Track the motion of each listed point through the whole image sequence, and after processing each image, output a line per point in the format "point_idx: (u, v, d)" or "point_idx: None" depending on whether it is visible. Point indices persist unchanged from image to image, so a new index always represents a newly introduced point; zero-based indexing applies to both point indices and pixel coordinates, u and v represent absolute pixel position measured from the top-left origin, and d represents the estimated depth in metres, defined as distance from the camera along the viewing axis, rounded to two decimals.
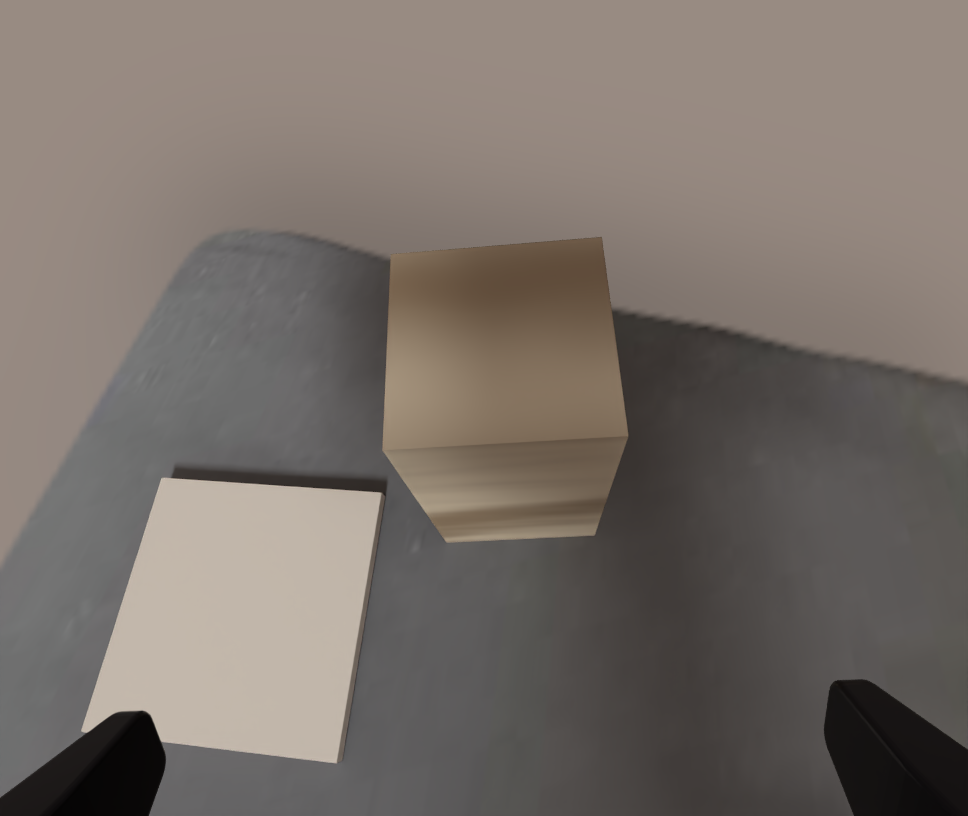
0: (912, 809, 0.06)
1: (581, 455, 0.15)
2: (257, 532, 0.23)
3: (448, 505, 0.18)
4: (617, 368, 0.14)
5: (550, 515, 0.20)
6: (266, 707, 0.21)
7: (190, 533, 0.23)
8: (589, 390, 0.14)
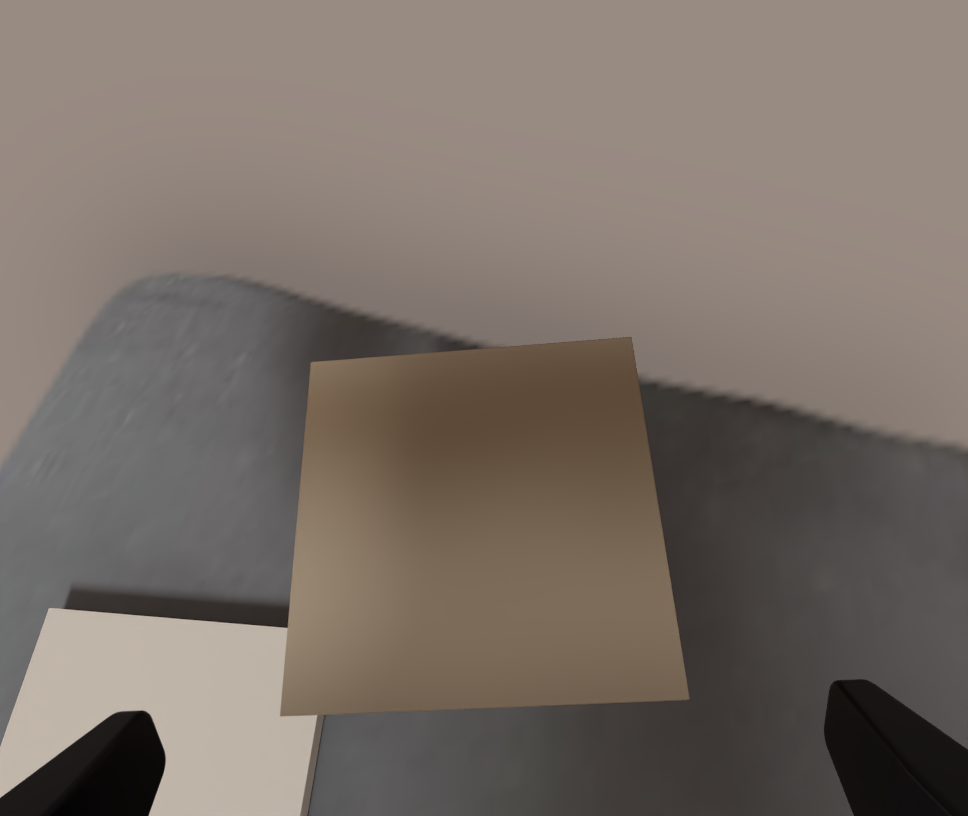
0: (912, 809, 0.06)
1: None
2: (167, 688, 0.18)
3: None
4: (665, 568, 0.09)
5: None
6: None
7: (81, 688, 0.18)
8: (621, 610, 0.09)
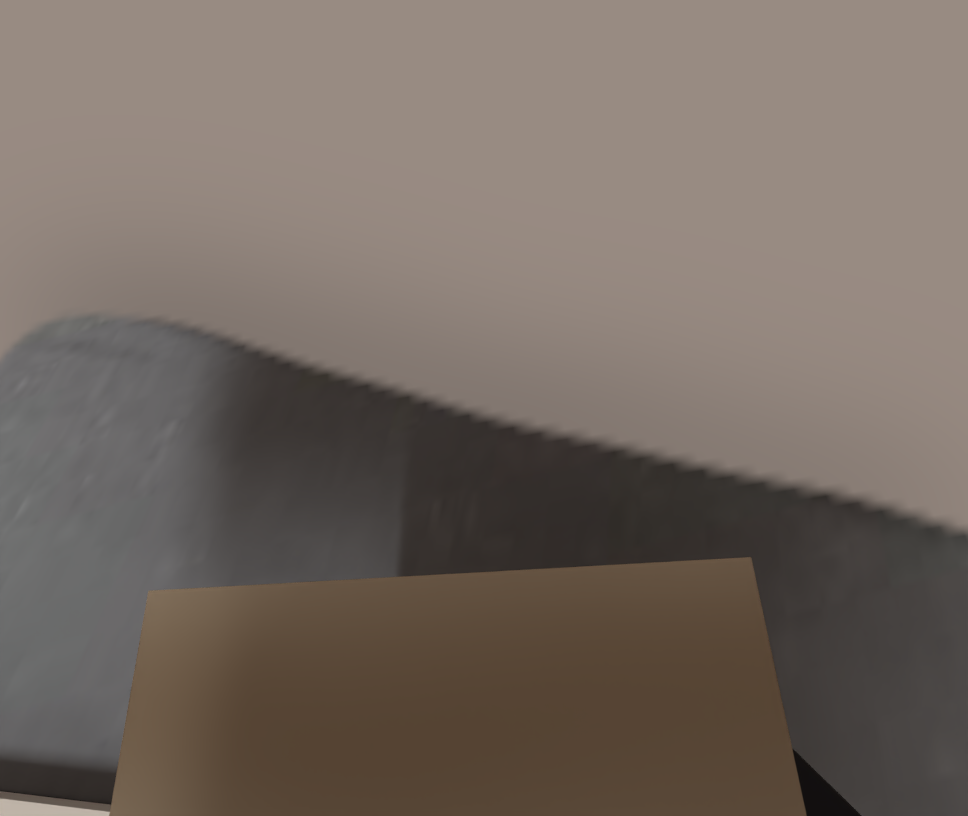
0: None
1: None
2: None
3: None
4: None
5: None
6: None
7: None
8: None
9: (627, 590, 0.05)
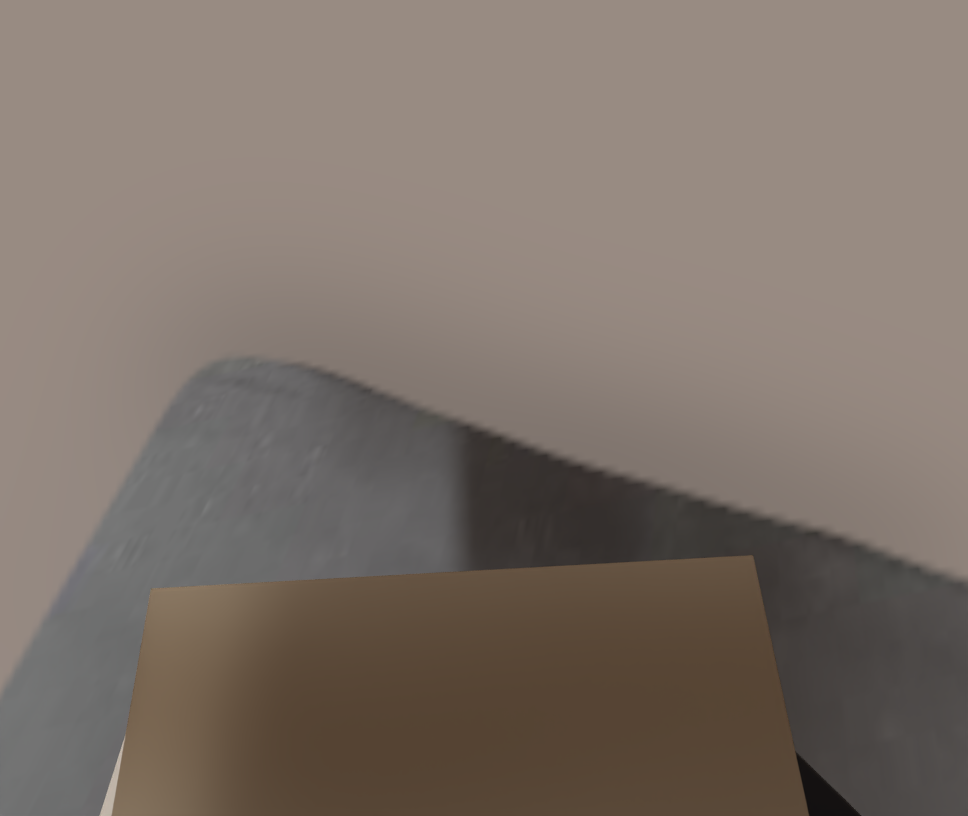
0: None
1: None
2: None
3: None
4: None
5: None
6: None
7: None
8: None
9: (629, 588, 0.05)
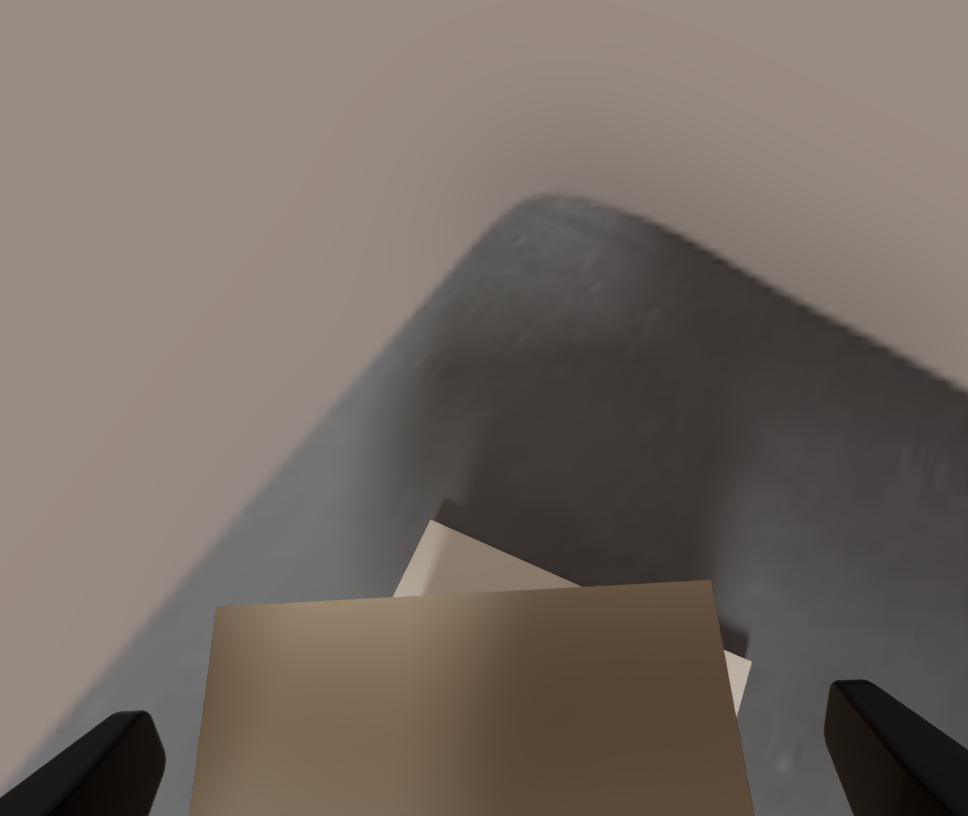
0: (912, 809, 0.06)
1: None
2: None
3: None
4: None
5: None
6: None
7: None
8: None
9: (609, 607, 0.07)
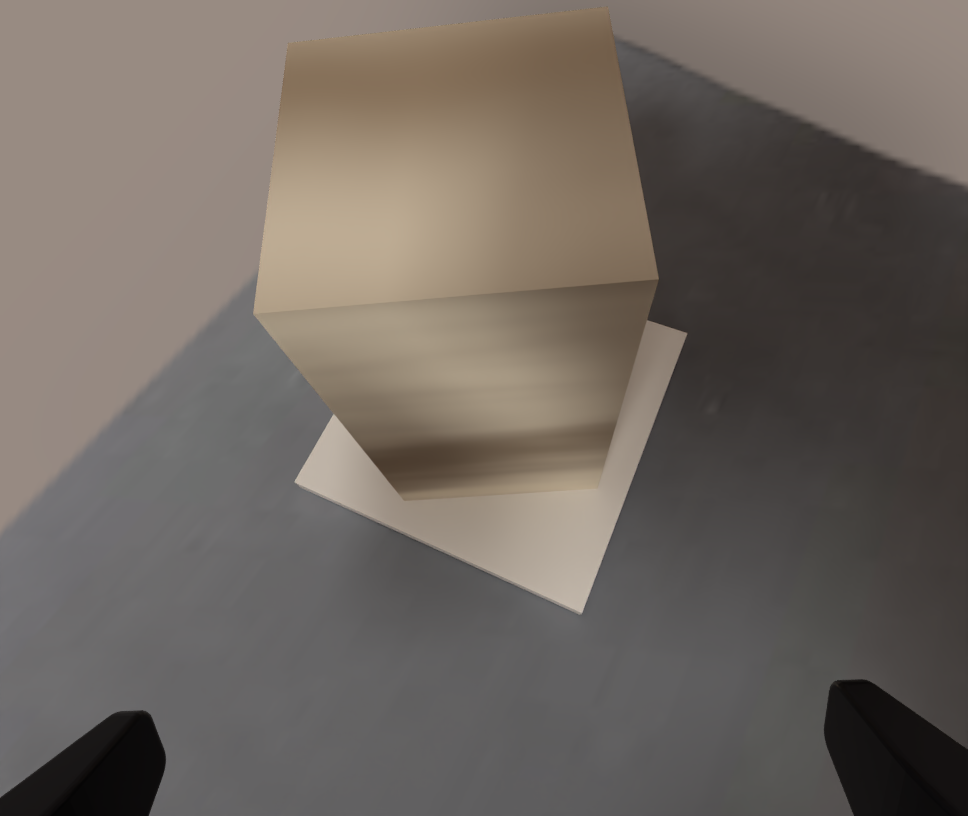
0: (912, 809, 0.06)
1: (580, 328, 0.09)
2: None
3: (391, 435, 0.13)
4: (637, 182, 0.09)
5: (537, 454, 0.14)
6: (507, 524, 0.17)
7: None
8: (592, 215, 0.09)
9: (542, 22, 0.10)
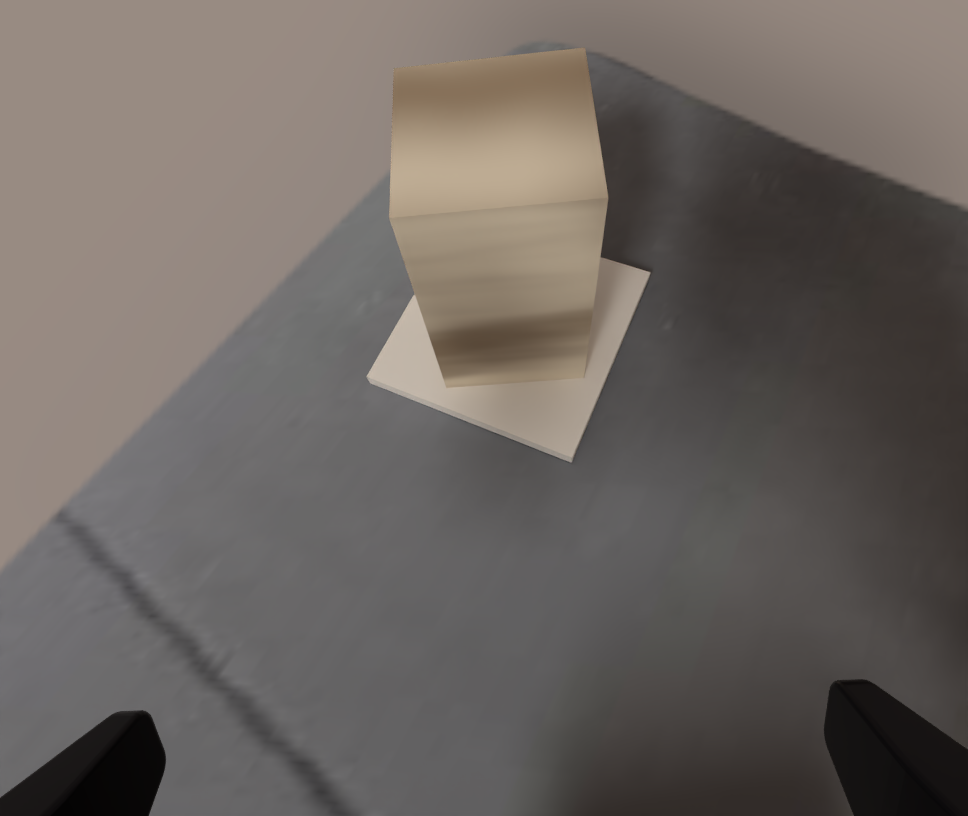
0: (912, 809, 0.06)
1: (567, 231, 0.16)
2: None
3: (448, 318, 0.20)
4: (598, 148, 0.16)
5: (542, 339, 0.21)
6: (520, 401, 0.24)
7: None
8: (573, 165, 0.16)
9: (546, 57, 0.17)
